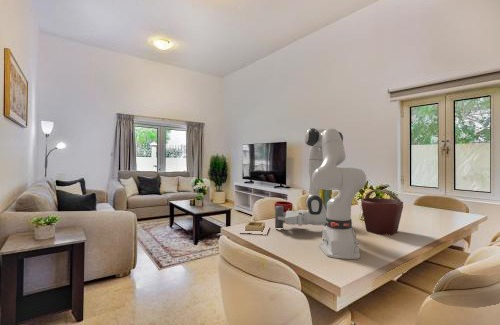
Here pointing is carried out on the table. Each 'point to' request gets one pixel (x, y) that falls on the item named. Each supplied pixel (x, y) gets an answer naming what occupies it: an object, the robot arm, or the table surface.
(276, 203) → the plant pot
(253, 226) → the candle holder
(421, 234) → the table surface
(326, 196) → the book
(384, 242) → the table surface
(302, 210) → the robot arm
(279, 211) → the grey cylinder
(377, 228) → the brown basket
